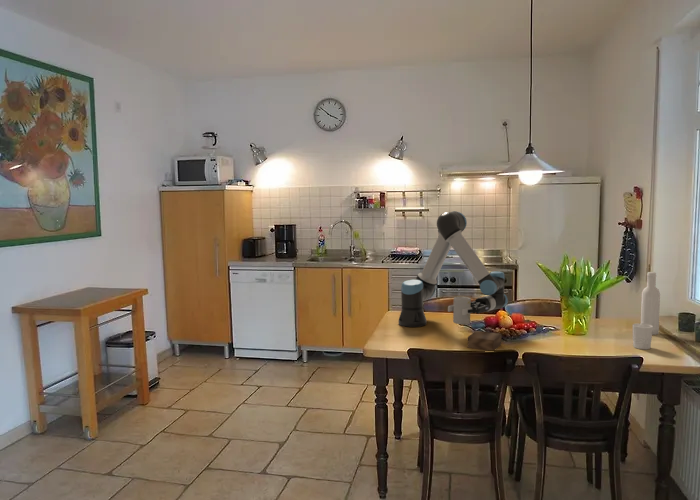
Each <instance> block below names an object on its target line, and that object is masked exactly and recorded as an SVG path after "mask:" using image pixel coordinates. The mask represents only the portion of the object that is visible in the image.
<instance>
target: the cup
mask: <svg viewBox="0 0 700 500" xmlns="http://www.w3.org/2000/svg"><path fill="white" fill-rule="evenodd" d="M471 302H472V298H471V297H468V296H454V297H453V305H454V310H453V311H452V312H453V313H452V315H453V316H452V318H453V319H452V321H453V323H454V324H458V325H469V324H470V323H471V313H470V314H466V315H462V309H465V308H470V307H471Z"/></svg>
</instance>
